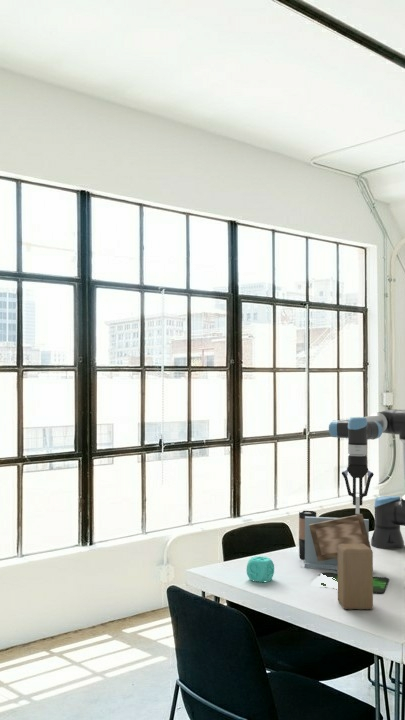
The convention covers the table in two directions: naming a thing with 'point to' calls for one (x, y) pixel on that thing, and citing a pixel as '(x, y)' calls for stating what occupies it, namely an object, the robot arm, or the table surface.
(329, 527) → the walnut frame
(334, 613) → the table surface
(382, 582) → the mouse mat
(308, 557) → the grey board
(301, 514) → the travel mug
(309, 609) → the table surface
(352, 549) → the wooden block
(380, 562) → the table surface
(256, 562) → the decorative dice
